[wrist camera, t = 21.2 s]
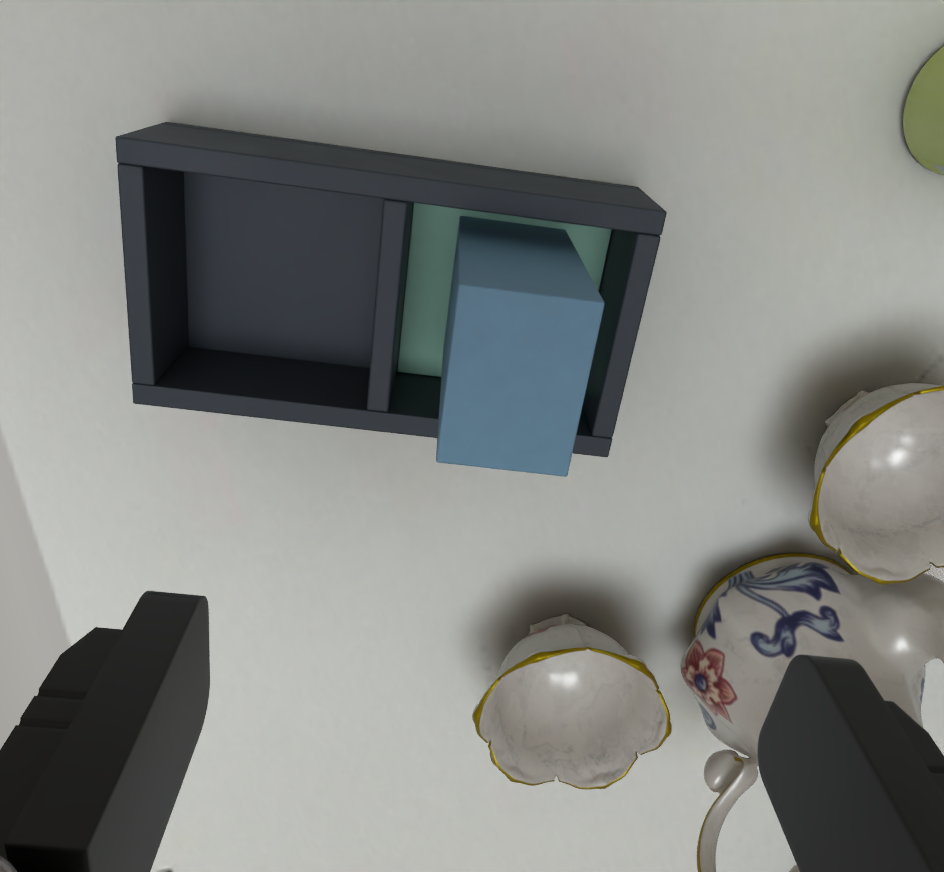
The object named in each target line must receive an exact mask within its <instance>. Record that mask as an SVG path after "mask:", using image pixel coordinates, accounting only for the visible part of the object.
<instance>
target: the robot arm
mask: <svg viewBox="0 0 944 872" xmlns="http://www.w3.org/2000/svg"><path fill="white" fill-rule="evenodd" d="M209 688H210V662H209V611H208V601H207V598H206V597H205V596H198V595H187V594H176V593H166V592H155V591H146V592H145V593H144V594H143V595H142V596H141V598H140V599H139V601H138V603H137V605H136V607H135V608H134V610H133V612H132V614H131V616H130V617H129V619H128V621H127V623H126V625H125V626H124V628H123V630H120V629H109V628H98V627H96V628H94V629H93V630H92V631H91V632H89V633H88V634H87V635H85V636H84V637H83V638H82V639H80V640H79V641H78V642H76V643H75V644H74V645H73V646H71V647H70V648H69V649H67V650H66V651H65V652H64V653H62V654H61V655H60V657H59V658H58V660H57V661H56V663H55V664H54V666H53V668H52V669H51V671H50V672H49V674H48V675H47V677H46V679H45V680H44V682H43V683H42V685H41V687H40V688H39V693H38V695H37V696H34V698H33V699H32V701H31V702H30V704H29V706H28V707H27V709H26V710H25V712H24V713H23V715H22V717H21V721H20V724H19V726H17V725H16V726H15V728H14V729H13V731H12V732H11V734H10V736H9V737H8V739H7V740H6V742H5V743H4V745H3V747H2V748H1V750H0V872H150V870H151V868H152V865H153V862H154V859H155V857H156V854H157V851H158V848H159V846H160V843H161V840H162V837H163V835H164V832H165V829H166V826H167V824H168V821H169V818H170V815H171V813H172V810H173V807H174V804H175V802H176V799H177V796H178V793H179V791H180V788H181V785H182V782H183V780H184V777H185V774H186V771H187V769H188V766H189V763H190V760H191V758H192V755H193V752H194V749H195V746H196V744H197V741H198V738H199V735H200V733H201V730H202V726H203V723H204V719H205V715H206V710H207V704H208V698H209ZM757 751H758V765H759V770H760V774H761V778H762V780H763V783H764V785H765V788H766V790H767V793H768V795H769V798H770V800H771V802H772V805H773V807H774V810H775V812H776V815H777V817H778V819H779V822H780V824H781V827H782V829H783V832H784V834H785V836H786V839H787V841H788V844H789V846H790V849H791V851H792V854H793V856H794V858H795V861H796V863H797V866H798V868H799V871H800V872H944V756H943V754H942V753H941V751H940V750H939V748H938V747H937V745H936V744H935V742H934V741H933V739H932V738H931V736H930V735H929V733H928V732H927V731H926V730H924V729H923V728H922V727H921V726H920V725H919V724H918V723H917V722H916V721H914V720H913V719H912V718H911V717H910V716H909V715H908V714H907V713H906V712H905V711H903V710H902V709H901V708H900V707H899V706H898V705H897V704H896V703H895V702H893V701H884V699H883V697H882V696H881V694H880V693H879V691H878V690H877V688H876V687H875V685H874V683H873V682H872V680H871V679H870V677H869V676H868V674H867V673H866V671H865V670H864V668H863V667H862V666H861V665H860V664H859V663H858V662H857V661H855V660H852V659H845V658H834V657H824V656H813V655H802V654H801V655H797V656H795V657H794V658H793V659H792V660H791V661H790V663H789V665H788V667H787V669H786V672H785V674H784V676H783V679H782V681H781V683H780V686H779V688H778V691H777V693H776V695H775V698H774V700H773V702H772V705H771V707H770V709H769V712H768V714H767V717H766V719H765V721H764V724H763V726H762V728H761V731H760V734H759V739H758V750H757Z"/></svg>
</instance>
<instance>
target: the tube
mask: <svg viewBox="0 0 944 872" xmlns="http://www.w3.org/2000/svg"><path fill="white" fill-rule="evenodd" d="M903 129H904V135H905V139H906V142H907V145H908V147H909V149H910V151H911V153H912V155H913V156H914V157H915V159H917V160H918V161H919V162H920V163H921V164H922V165H923V166H924V167H926V168H927V169H929V170H931V171H933V172H935V173H938V174H941V175H944V46H943V47H942V48H941V49H940V50H938V51H937V52H936V53H935V54H934V55H933V56H932V57H931V58H930V59H929V60H928V62H927V63H926V64H925V65H924V67H923V68H922V69H921V71H920V72H919V74H918V75H917V77H916V79H915V80H914V82H913V85H912V87H911V89H910V91H909V94H908V97H907V100H906V104H905V109H904V115H903Z"/></svg>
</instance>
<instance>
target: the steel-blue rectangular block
mask: <svg viewBox="0 0 944 872" xmlns="http://www.w3.org/2000/svg"><path fill="white" fill-rule="evenodd" d="M603 309H604V301H603V299H602V297H601V295H600V294H599V292H598V290H597V288H596V286H595V284H594V282H593V280H592V278H591V277H590V275H589V273H588V271H587V269H586V267H585V265H584V263H583V261H582V260H581V258H580V256H579V254H578V252H577V250H576V248H575V246H574V244H573V243H572V241H571V239H570V237H569V235H568V233H567V231H566V230H565V229H557V228H550V227H542V226H535V225H527V224H520V223H512V222H504V221H497V220H489V219H482V218H474V217H467V216H460V218H459V226H458V234H457V242H456V250H455V258H454V267H453V275H452V283H451V291H450V299H449V307H448V315H447V323H446V331H445V339H444V347H443V358H442V374H441V390H440V405H439V421H438V437H437V453H436V461H437V462H440V463H449V464H458V465H467V466H476V467H485V468H494V469H503V470H512V471H521V472H530V473H539V474H548V475H557V476H567V475H568V471H569V466H570V461H571V457H572V452H573V448H574V443H575V438H576V434H577V429H578V425H579V420H580V415H581V411H582V406H583V401H584V397H585V392H586V388H587V383H588V378H589V374H590V369H591V364H592V360H593V355H594V351H595V346H596V341H597V337H598V332H599V328H600V323H601V318H602V314H603Z"/></svg>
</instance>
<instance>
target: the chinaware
mask: <svg viewBox="0 0 944 872" xmlns="http://www.w3.org/2000/svg"><path fill="white" fill-rule="evenodd" d="M825 424H826V425H827V430H826V431H825V433H824V435H823V436H822V439H821V441H820V443H819V447H818V450H817V454H816V459H815V469H814V476H815V486H816V488H815V491H814V494H813V499H812V505H811V509H810V511H809V513H808V521H809V525H810V527H811V529H812V530H813V531H814V532H815V533H816V534H817V536H818V538H819V539H820V541H821V542H822V543H823V544H824V545H826V546H827V547H829V548H830V549H832V550H833V551H835V552H836V551H838V553H839V556H840V557H841V558H842V559H843V560H844V561H845V562H846V563H847V564H848V565H849V566H850V567H851V568H852V569H853V570H854V571H856V572H857V573H858V574H857V575H853V574H852V573H851V572H850V571H849V570H847V569H846V568H845V567H843V566H842V565H840V564H839V563H837V562H835V561H833V560H830V559H828V558H825V557H821V556H818V555H813V554H805V553H785V554H777V555H772V556H767V557H764V558H760V559H757V560H755V561H752V562H750V563H747V564H745V565H743V566H741V567H739V568H737V569H736V570H734V571H733V572H731V573H729V574H728V575H727V576H725V577H724V578H723V579H722V580H720V581H719V582H718V583H717V584H716V585H715V586H714V587H713V588H712V589H711V590H710V592H709V593H708V594H707V595H706V597H705V598H704V600H703V602H702V603H701V605H700V607H699V609H698V612H697V615H696V618H695V622H694V630H693V635H694V639H693V641H692V642H691V644H690V645H689V647H688V649H687V650H686V652H685V654H684V656H683V658H682V662H681V673H682V676H683V678H684V680H685V682H686V683H687V685H688V686H689V687H690V689H691V690H692V692H693V694H694V695H695V697H696V699H697V701H698V703H699V705H700V707H701V710H702V713H703V716H704V719H705V722H706V725H707V727H708V729H709V730H710V731H711V733H712V734H713V735H714V736H715V737H716V738H717V739H719V740H720V741H721V742H723V743H724V744H726V745H727V746H729V747H731V748H733V749H734V750H736V751H738V752H740V753H742V754H744V755H746V756H748V757H750V758H745V757H741V756H739V755H738V754H737V753H736V752H735V751H732V750H722V751H718V752H715V753H713V754H712V755H711V756H710V757H709V758H708V760H707V762H706V764H705V768H704V779H705V782H706V784H707V786H708V787H709V788H710V789H711V790H712V791H713V792H718V793H719V794H720V795H719V797H718V798H717V799H716V800H715V802H714V803H713V805H712V806H711V808H710V809H709V811H708V813H707V815H706V817H705V820H704V822H703V825H702V828H701V831H700V835H699V840H698V846H697V868H698V872H716V864H715V856H716V846H717V840H718V836H719V833H720V830H721V827H722V824H723V822H724V820H725V818H726V816H727V814H728V812H729V811H730V809H731V808H732V806H733V805H734V803H735V802H736V801H737V799H738V798H739V797H740V796H741V795H742V794H743V793H744V792H745V791H746V790H747V789H748V788H749V787H750V786H752V785H753V784H754V782H755V781H756V780H757V777H758V770H757V766H759V765H758V751H757V750H758V739H759V734H760V731H761V728H762V726H763V724H764V721H765V719H766V717H767V714H768V712H769V709H770V707H771V705H772V702H773V700H774V698H775V695H776V693H777V691H778V688H779V686H780V683H781V681H782V679H783V676H784V674H785V672H786V669H787V667H788V665H789V663H790V661H791V660H792V659H793V658H794V657H795V656H797V655H801V654H802V655H813V656H824V657H834V658H845V659H852V660H855V661H857V662H858V663H859V664H860V665H861V666H862V667H863V668H864V670H865V671H866V673H867V674H868V676H869V677H870V679H871V680H872V682H873V683H874V685H875V687H876V688H877V690H878V691H879V693H880V694H881V696H882V697H883V699H884V701H893V702H895V703H896V704H897V705H898V706H899V707H900V708H901V709H902V710H903V711H905V712H906V713H907V714H908V715H909V716H910V717H911V718H912V719H913V720H914V721H916V722H917V723H918V724H919V725H920V726H921V727H922V728H923V724H922V717H921V702H922V695H923V689H924V682H925V664H926V663H928V662H929V661H930V660H933V659H936V658H939V659H941V660H942V661H943V663H944V582H943V581H941V580H939V579H937V578H935V577H933V576H931V575H928V574H925V573H924V572H926V571H928V570H930V563H931V564H933V565H934V566H935V567H936V568H939V567H944V385H942V386H940V385H933V384H924V383H907V384H899V385H893V386H888V387H884V388H881V389H878V390H875V391H873V392H866V391H864V390H861V391H859V393H858V394H857V395H856V396H855V397H853V398H852V399H850V400H849V401H848V402H846V403H845V404H844V405H842V406H841V407H840V408H839V409H838V410H837V411H836V412H835V413H834V414H833V415H832V416H831V417H830V418H828V419H827V420H826V421H825ZM658 689H659V687H658V684H657V682H656V679H655V678H654V676H653V674H652V673H651V672H650V671H649V670H648V669H647V667H646V665H645V663H644V662H643V661H642V660H640V659H639V658H637V657H635V656H632V655H629V654H628V652H627V651H626V650H625V649H624V648H623V647H622V646H621V645H620V644H619V643H617V642H616V641H615V640H614V639H612V638H611V637H609V636H608V635H606V634H604V633H602V632H600V631H598V630H596V629H593V628H591V627H588V626H587V625H585V624H584V623H583V622H581V621H579V620H577V619H575V618H572V617H570V616H569V615H568V614H564V615H562V616H558V617H553V618H549V619H546V620H544V621H542V622H540V623H537V624H532V625H531V626H530V632H529V635H528V636H526V637H525V638H523V639H522V640H521V641H519V642H518V643H517V644H516V645H515V646H514V647H513V648H512V649H511V651H510V652H509V653H508V655H507V656H506V658H505V659H504V661H503V662H502V664H501V667H500V669H499V671H498V674H497V677H496V680H495V682H494V683H493V684H492V685H491V687H490V688H489V689H488V690H487V691H486V693H485V694H484V696H483V697H482V699H481V700H480V702H479V704H478V705H476V707H475V709H474V711H473V714H472V718H473V721H474V723H475V727H476V731H477V734H478V735H479V736H480V737H481V738H482V739H483V740H484V741H485V742H486V743H488V742H489V745H488V747H489V750H490V757H491V760H492V762H493V764H494V765H495V766H496V767H497V768H498V769H499V770H500V771H501V772H503V773H504V774H505V775H506V777H507V778H508V779H509V780H510V781H512V782H516V783H522V784H526V785H539V784H542V783H546V782H551V781H554V779H555V777H556V775H557V777H558V780H559V781H560V782H563V783H566V784H569V785H571V786H573V787H576V788H579V789H604V788H607V787H609V786H610V785H611V784H613V783H615V782H617V781H618V780H620V779H622V778H623V777H624V776H625V775H626V774H627V773H628V771H629V770H630V768H631V767H632V765H633V764H634V762H635V761H636V760H637V758H638V756H637V752H638V753H639V754H640V755H642V754H645V753H647V752H650V751H653V750H656V749H658V748H659V747H660V746H661V745H662V743H663V742H664V741H665V739H666V738H667V737H668V736H669V735H670V733H671V729H672V727H671V722H670V714H669V710H668V707H667V705H666V703H665V700H664V698H663V696H662V694H661V692H660V691H659V690H658ZM789 872H800V871H799V868H798V866H794V867H793V868H792V869H791V870H790V871H789Z"/></svg>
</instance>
